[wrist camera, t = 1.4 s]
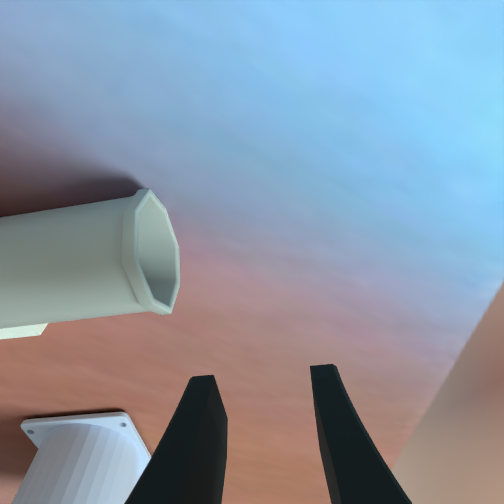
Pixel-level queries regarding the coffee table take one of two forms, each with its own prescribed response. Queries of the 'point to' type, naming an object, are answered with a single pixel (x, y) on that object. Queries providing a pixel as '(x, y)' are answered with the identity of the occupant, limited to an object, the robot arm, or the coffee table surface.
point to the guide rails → (22, 331)
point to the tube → (88, 261)
